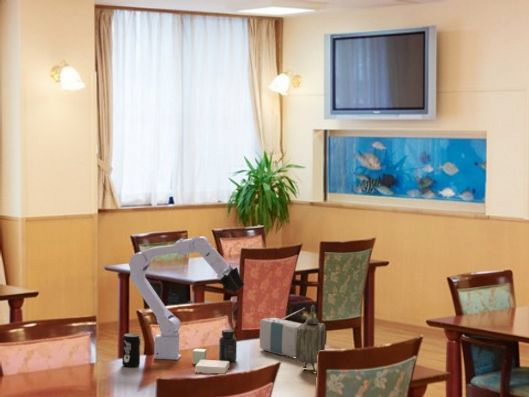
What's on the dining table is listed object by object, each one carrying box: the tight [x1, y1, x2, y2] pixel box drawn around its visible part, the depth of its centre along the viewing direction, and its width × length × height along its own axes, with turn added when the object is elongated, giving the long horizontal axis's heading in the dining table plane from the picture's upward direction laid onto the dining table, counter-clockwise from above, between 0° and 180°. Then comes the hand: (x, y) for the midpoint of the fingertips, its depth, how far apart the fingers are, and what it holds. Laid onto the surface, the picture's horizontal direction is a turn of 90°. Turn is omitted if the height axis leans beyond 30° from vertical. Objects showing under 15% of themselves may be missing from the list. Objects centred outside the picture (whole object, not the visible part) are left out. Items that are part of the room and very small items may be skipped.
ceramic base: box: [194, 359, 230, 374], centre depth 401 cm, size 11×11×3 cm
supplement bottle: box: [218, 329, 238, 363], centre depth 417 cm, size 7×7×12 cm
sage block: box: [191, 348, 207, 365], centre depth 412 cm, size 4×4×5 cm
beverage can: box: [121, 332, 141, 368], centre depth 403 cm, size 7×7×12 cm
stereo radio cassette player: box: [259, 307, 306, 358], centre depth 433 cm, size 21×8×20 cm, turn 42°
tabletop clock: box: [295, 304, 326, 373], centre depth 405 cm, size 14×9×25 cm, turn 168°
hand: (239, 288), depth 414 cm, fingers open, 7 cm apart
